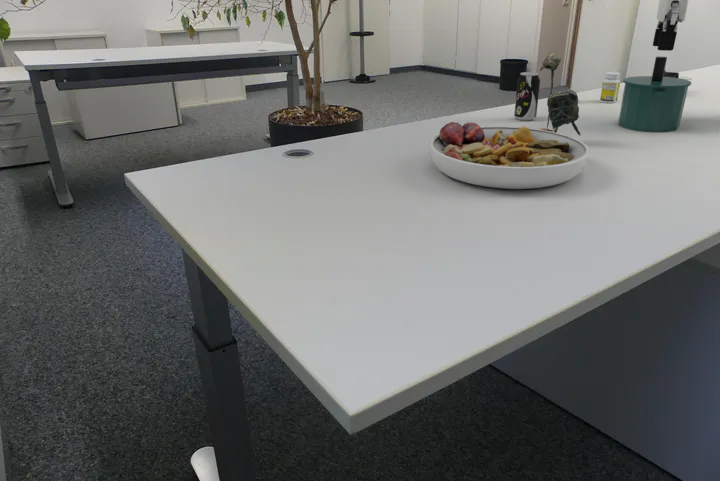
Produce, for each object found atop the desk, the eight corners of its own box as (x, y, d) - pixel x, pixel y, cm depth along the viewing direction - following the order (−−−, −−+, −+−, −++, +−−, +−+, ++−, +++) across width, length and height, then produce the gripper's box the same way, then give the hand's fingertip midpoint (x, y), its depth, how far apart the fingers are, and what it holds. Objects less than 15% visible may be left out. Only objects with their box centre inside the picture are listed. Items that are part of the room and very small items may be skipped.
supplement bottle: (608, 99, 169) (613, 71, 166) (620, 102, 165) (625, 73, 162) (596, 101, 168) (600, 72, 164) (607, 103, 164) (612, 74, 160)
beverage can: (509, 119, 148) (513, 73, 143) (521, 115, 152) (526, 70, 146) (527, 122, 144) (533, 75, 139) (540, 118, 148) (545, 72, 143)
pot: (672, 118, 144) (681, 77, 140) (684, 136, 128) (694, 90, 124) (616, 116, 149) (623, 76, 144) (620, 132, 132) (628, 88, 128)
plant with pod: (572, 150, 120) (586, 54, 111) (522, 143, 126) (531, 51, 117) (582, 141, 126) (596, 50, 118) (533, 135, 132) (543, 48, 123)
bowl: (602, 160, 112) (608, 122, 109) (559, 207, 90) (566, 161, 87) (466, 142, 128) (468, 108, 124) (401, 177, 105) (401, 137, 102)
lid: (685, 81, 138) (691, 54, 135) (695, 91, 126) (702, 61, 123) (620, 79, 143) (625, 53, 140) (624, 89, 130) (630, 60, 127)
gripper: (705, -34, 115) (686, 52, 122) (691, -32, 129) (674, 45, 137) (665, -33, 117) (648, 51, 124) (656, -31, 132) (641, 44, 139)
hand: (662, 48), depth 131 cm, fingers open, 9 cm apart
